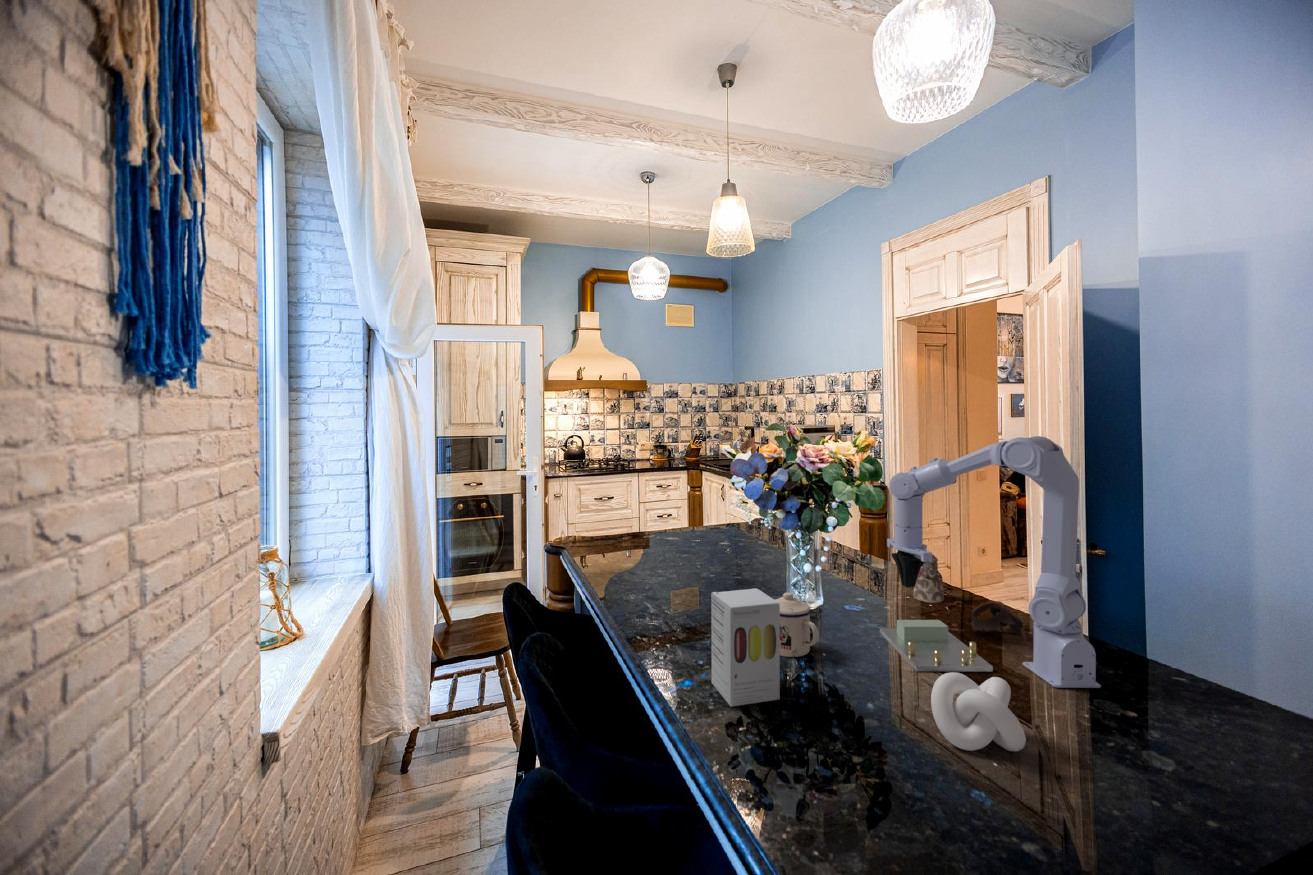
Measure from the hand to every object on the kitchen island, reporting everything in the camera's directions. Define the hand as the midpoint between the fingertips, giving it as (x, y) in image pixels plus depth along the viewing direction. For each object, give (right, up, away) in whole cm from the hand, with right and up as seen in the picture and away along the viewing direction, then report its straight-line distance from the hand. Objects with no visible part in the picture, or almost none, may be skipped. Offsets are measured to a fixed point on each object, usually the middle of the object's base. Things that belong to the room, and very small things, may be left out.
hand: (908, 585), depth 125 cm
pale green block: (0, -9, -7) cm, 11 cm away
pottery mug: (+18, -10, -3) cm, 21 cm away
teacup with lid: (-28, -11, -10) cm, 32 cm away
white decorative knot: (-9, -12, -42) cm, 45 cm away
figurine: (+15, -9, +22) cm, 28 cm away
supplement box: (-41, -12, -27) cm, 50 cm away
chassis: (0, -10, -11) cm, 15 cm away
